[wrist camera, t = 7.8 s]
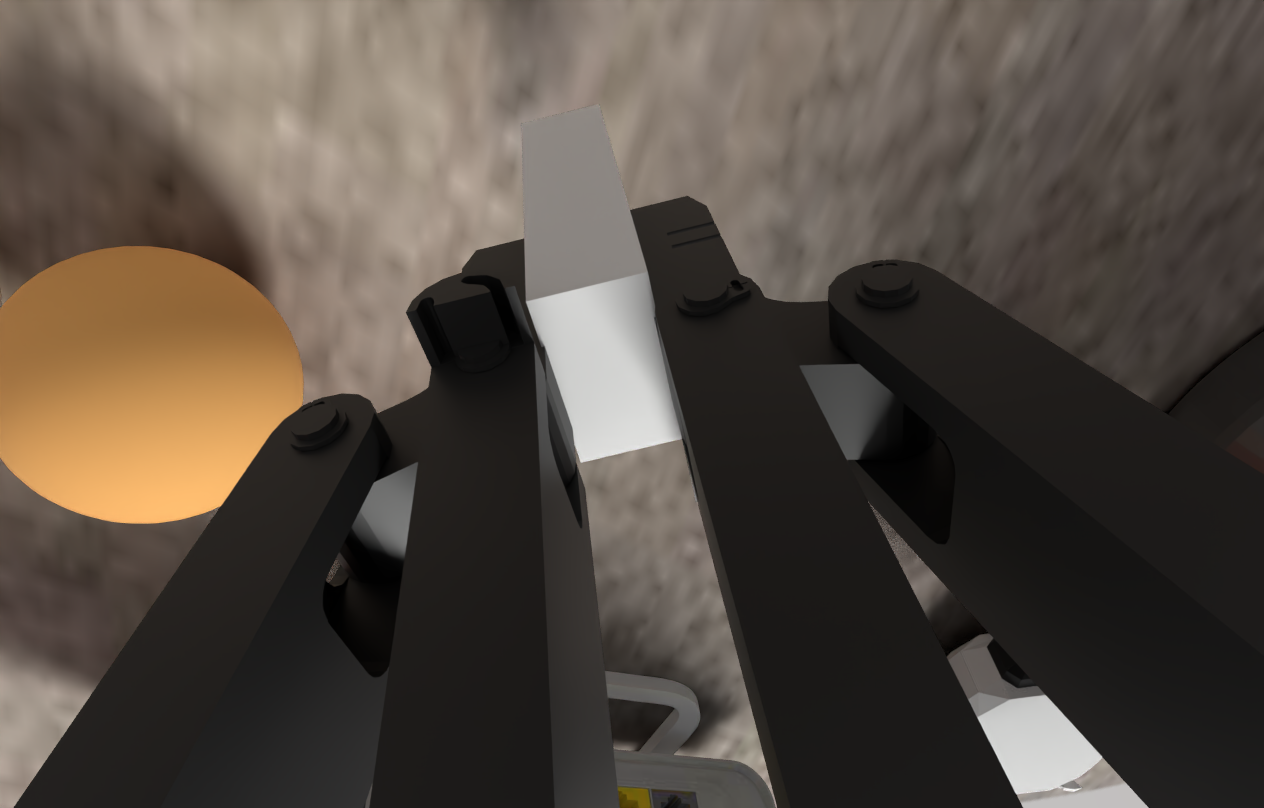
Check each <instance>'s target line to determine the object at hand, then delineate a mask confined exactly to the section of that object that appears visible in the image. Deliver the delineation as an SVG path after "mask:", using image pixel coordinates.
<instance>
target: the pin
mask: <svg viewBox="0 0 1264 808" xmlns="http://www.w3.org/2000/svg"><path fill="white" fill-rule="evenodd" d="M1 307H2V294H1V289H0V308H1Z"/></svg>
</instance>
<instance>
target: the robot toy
mask: <svg viewBox="0 0 1264 808" xmlns="http://www.w3.org/2000/svg"><path fill="white" fill-rule="evenodd" d="M947 659H948V661H949V663H950V665H951V667H952V669H953V670H954V672H955V674H956V676H957V678H958V680H959V682H960V684H961V686H962V688H963V690H964V692H965V694H966V696H967V698H968V700H969V702H970V704H971V706H972V708H973V710H974V712H975V714H976V716H977V718H978V720H979V722H980V724H981V726H982V728H983V730H984V732H985V734H986V736H987V738H988V740H989V742H990V744H991V745H992V747H993V749H994V751H995V753H996V755H997V757H998V759H999V761H1000V763H1001V765H1002V767H1003V769H1004V771H1005V773H1006V775H1007V777H1008V779H1009V781H1010V783H1011V785H1012V787H1013V789H1014V791H1015V793H1016V794H1022V793H1031V792H1039V791H1047V790H1052V789H1054V788H1062V789H1063V790H1065V791H1073V792H1075V791H1077V790H1079V789H1081V788H1083V787H1081V786H1080V785H1079V784H1077V783H1076V782H1074V781H1072V780H1074V779H1076V778H1078V777H1080V776H1081V775H1083V774H1084V773H1085V772H1087V771H1088V770H1089V769H1090V768H1091V767H1093V766H1094V765H1095V764H1096V763H1097V762H1099V761H1100V760H1101V758H1102V756H1101V755H1100V754H1099V753H1098V752H1097V751H1096V750H1095V748H1094V747H1093V746H1092V745H1091V744H1090V743H1089V742H1088V741H1087V740H1086V739H1085V737H1084V736H1083V735H1082V734H1081V733H1080V732H1079V731H1078V730H1077V729H1076V728H1075V727H1074V725H1073V724H1072V723H1071V722H1070V721H1069V720H1068V719H1067V718H1066V717H1065V716H1064V715H1063V713H1062V712H1061V711H1060V710H1059V709H1058V708H1057V707H1056V706H1055V705H1054V704H1053V703H1052V701H1051V700H1050V699H1049V698H1048V697H1047V696H1046V695H1045V694H1044V693H1043V692H1042V690H1041V689H1040V688H1039V687H1038V686H1037V685H1036V684H1035V683H1034V682H1033V681H1032V680H1031V678H1030V677H1029V676H1028V675H1027V674H1026V673H1025V672H1024V671H1023V670H1022V669H1021V668H1020V666H1019V665H1018V664H1017V663H1016V662H1015V661H1014V660H1013V659H1012V658H1011V657H1010V656H1009V654H1008V653H1007V652H1006V651H1005V650H1004V649H1003V648H1002V647H1001V646H1000V645H999V643H998V642H997V641H996V640H995V639H994V638H993V637H992V636H991V635H990V634H989V633H988V634H982V635H979V636H977V637H975V638H974V639H972V640H970V641H969V642H967V643H965V644H964V645H962V646H960V647H959V648H957V649H955V650H954V651H952V652H951V653H950V654H949V655H948V656H947Z"/></svg>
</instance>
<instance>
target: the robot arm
mask: <svg viewBox="0 0 1264 808" xmlns="http://www.w3.org/2000/svg"><path fill="white" fill-rule="evenodd" d="M521 126H522V166H523V206H524V239H521V240H517V241H513V242H509V243H505V244H500V245H496V246H492V247H488V248H484V249H480V250H476V252H475V253H474V254H473V256H472V257H471V258H470V259H469V261H468V262H467V263H466V265H465V266H464V267H463V268H462V273H460V274H457V275H454V276H451V277H448V278H445V279H442V280H441V281H439V282H437V283H435V284H433V285H432V286H430V287H428V288H426V289H425V290H424V291H423V292H421V293H420V294H419V295H418V296H417V297H416V298H415V299H414V300H412V302H411V304H410V306H409V308H408V310H407V312H406V314H407V316H408V318H409V320H410V322H411V324H412V326H413V329H414V331H415V333H416V335H417V337H418V339H419V342H420V344H421V346H422V348H423V350H424V352H425V354H426V357H427V359H428V361H429V363H430V365H431V367H432V368H431V375H430V382H429V387H428V388H427V389H426V390H424V391H423V392H421V393H420V394H418V395H416V396H414V397H412V398H410V399H408V400H406V401H404V402H402V403H400V404H398V405H395V406H393V407H391V408H389V409H386V410H384V411H382V412H380V413H378V414H377V412H376V410H375V409H374V407H373V405H372V403H371V401H370V400H368V399H366V398H364V397H362V396H361V395H358V394H338V395H334V396H329V397H323V398H320V399H317V400H314V401H313V402H312V403H311V402H310V403H308V404H306V405H304V406H302V407H300V408H299V409H298V410H297V411H295V412H294V413H292V414H291V415H290V416H288V417H287V418H285V419H284V420H283V421H282V422H281V423H280V424H279V425H278V426H277V428H276V429H275V430H274V431H273V432H272V433H271V434H270V436H269V437H268V439H267V440H266V441H265V443H264V444H263V446H262V447H261V449H260V450H259V452H258V453H257V455H256V456H255V457H254V459H253V460H252V462H251V463H250V465H249V466H248V468H247V469H246V471H245V472H244V473H243V475H242V476H241V478H240V479H239V481H238V482H237V484H236V485H235V487H234V488H233V489H232V491H231V492H230V494H229V495H228V497H227V498H226V500H225V501H224V503H223V504H222V505H221V507H220V508H219V510H218V511H217V513H216V514H215V516H214V517H213V518H212V520H211V521H210V523H209V524H208V526H207V527H206V529H205V530H204V532H203V533H202V534H201V536H200V537H199V539H198V540H197V542H196V543H195V545H194V546H193V548H192V549H191V550H190V552H189V553H188V555H187V556H186V558H185V559H184V561H183V562H182V564H181V565H180V566H179V568H178V569H177V571H176V572H175V574H174V575H173V577H172V578H171V580H170V581H169V582H168V584H167V585H166V587H165V588H164V590H163V591H162V593H161V594H160V596H159V597H158V598H157V600H156V601H155V603H154V604H153V606H152V607H151V609H150V610H149V612H148V613H147V614H146V616H145V617H144V619H143V620H142V622H141V623H140V625H139V626H138V628H137V629H136V630H135V632H134V633H133V635H132V636H131V638H130V639H129V641H128V642H127V644H126V645H125V646H124V648H123V649H122V651H121V652H120V654H119V655H118V657H117V658H116V660H115V661H114V662H113V664H112V665H111V667H110V668H109V670H108V671H107V673H106V674H105V676H104V677H103V678H102V680H101V681H100V683H99V684H98V686H97V687H96V689H95V690H94V692H93V693H92V694H91V696H90V697H89V699H88V700H87V702H86V703H85V705H84V706H83V708H82V709H81V710H80V712H79V713H78V715H77V716H76V718H75V719H74V721H73V722H72V724H71V725H70V726H69V728H68V729H67V731H66V732H65V734H64V735H63V737H62V738H61V740H60V741H59V742H58V744H57V745H56V747H55V748H54V750H53V751H52V753H51V754H50V755H49V757H48V758H47V760H46V761H45V763H44V764H43V766H42V767H41V769H40V770H39V771H38V773H37V774H36V776H35V777H34V779H33V780H32V782H31V783H30V785H29V786H28V787H27V789H26V790H25V792H24V793H23V795H22V796H21V798H20V799H19V801H18V802H17V803H16V805H15V806H14V808H364V805H365V803H366V800H367V797H368V794H369V791H370V789H371V786H372V791H371V798H370V805H369V808H620V805H619V796H618V786H617V777H616V768H615V759H614V750H613V741H612V731H611V722H610V713H609V704H608V695H607V686H606V676H605V667H604V658H603V649H602V640H601V631H600V621H599V612H598V603H597V594H596V585H595V576H594V566H593V557H592V548H591V539H590V530H589V521H588V511H587V502H586V493H585V487H584V484H583V481H582V478H581V476H580V473H579V470H578V467H577V464H576V457H575V447H576V450H577V453H578V456H579V458H580V461H581V463H582V462H586V461H591V460H595V459H599V458H603V457H607V456H612V455H616V454H620V453H624V452H629V451H633V450H637V449H641V448H646V447H650V446H654V445H658V444H662V443H667V442H671V441H675V440H679V439H682V440H683V445H684V450H685V454H686V459H687V463H688V468H689V473H690V477H691V482H692V486H693V491H694V496H695V500H696V502H698V506H699V509H700V513H701V517H702V521H703V525H704V529H705V532H706V536H707V540H708V544H709V548H710V552H711V555H712V559H713V563H714V567H715V571H716V574H717V578H718V582H719V586H720V590H721V594H722V597H723V601H724V605H725V609H726V613H727V617H728V620H729V624H730V628H731V632H732V636H733V640H734V643H735V647H736V651H737V655H738V659H739V663H740V666H741V670H742V674H743V678H744V682H745V686H746V689H747V693H748V697H749V701H750V705H751V709H752V712H753V716H754V720H755V724H756V728H757V731H758V735H759V739H760V743H761V747H762V751H763V754H764V758H765V762H766V766H767V770H768V774H769V777H770V781H771V785H772V789H773V793H774V797H775V800H776V804H777V808H1023V807H1022V805H1021V803H1020V801H1019V799H1018V797H1017V795H1016V793H1015V791H1014V789H1013V787H1012V785H1011V783H1010V781H1009V779H1008V777H1007V775H1006V773H1005V771H1004V769H1003V767H1002V765H1001V763H1000V761H999V759H998V757H997V755H996V753H995V751H994V749H993V747H992V745H991V744H990V742H989V740H988V738H987V736H986V734H985V732H984V730H983V728H982V726H981V724H980V722H979V720H978V718H977V716H976V714H975V712H974V710H973V708H972V706H971V704H970V702H969V700H968V698H967V696H966V694H965V692H964V690H963V688H962V686H961V684H960V682H959V680H958V678H957V676H956V674H955V672H954V670H953V669H952V667H951V665H950V663H949V661H948V659H947V657H946V655H945V653H944V651H943V649H942V647H941V645H940V643H939V641H938V639H937V637H936V635H935V633H934V631H933V629H932V627H931V625H930V623H929V621H928V619H927V617H926V615H925V613H924V611H923V609H922V607H921V605H920V603H919V601H918V599H917V597H916V595H915V593H914V592H913V590H912V588H911V586H910V584H909V582H908V580H907V578H906V576H905V574H904V572H903V570H902V568H901V566H900V564H899V562H898V560H897V558H896V556H895V554H894V552H893V550H892V548H891V546H890V544H889V542H888V540H887V538H886V536H885V534H884V532H883V530H882V528H881V526H880V524H879V522H878V520H877V518H876V517H875V515H874V513H873V511H872V509H871V507H870V505H869V503H868V501H869V502H870V504H871V505H872V506H873V507H874V508H875V509H876V510H877V511H878V512H879V513H880V515H881V516H882V517H883V518H884V519H885V520H886V521H887V522H888V523H889V524H890V525H891V527H892V528H893V529H894V530H895V531H896V532H897V533H898V534H899V535H900V536H901V537H902V539H903V540H904V541H905V542H906V543H907V544H908V545H909V546H910V547H911V548H912V549H913V551H914V552H915V553H916V554H917V555H918V556H919V557H920V558H921V559H922V560H923V562H924V563H925V564H926V565H927V566H928V567H929V568H930V569H931V570H932V571H933V572H934V574H935V575H936V576H937V577H938V578H939V579H940V580H941V581H942V582H943V583H944V584H945V586H946V587H947V588H948V589H949V590H950V591H951V592H952V593H953V594H954V595H955V596H956V598H957V599H958V600H959V601H960V602H961V603H962V604H963V605H964V606H965V607H966V609H967V610H968V611H969V612H970V613H971V614H972V615H973V616H974V617H975V618H976V619H977V621H978V622H979V623H980V624H981V625H982V626H983V627H984V628H985V629H986V630H987V631H988V633H989V634H990V635H991V636H992V637H993V638H994V639H995V640H996V641H997V642H998V643H999V645H1000V646H1001V647H1002V648H1003V649H1004V650H1005V651H1006V652H1007V653H1008V654H1009V656H1010V657H1011V658H1012V659H1013V660H1014V661H1015V662H1016V663H1017V664H1018V665H1019V666H1020V668H1021V669H1022V670H1023V671H1024V672H1025V673H1026V674H1027V675H1028V676H1029V677H1030V678H1031V680H1032V681H1033V682H1034V683H1035V684H1036V685H1037V686H1038V687H1039V688H1040V689H1041V690H1042V692H1043V693H1044V694H1045V695H1046V696H1047V697H1048V698H1049V699H1050V700H1051V701H1052V703H1053V704H1054V705H1055V706H1056V707H1057V708H1058V709H1059V710H1060V711H1061V712H1062V713H1063V715H1064V716H1065V717H1066V718H1067V719H1068V720H1069V721H1070V722H1071V723H1072V724H1073V725H1074V727H1075V728H1076V729H1077V730H1078V731H1079V732H1080V733H1081V734H1082V735H1083V736H1084V737H1085V739H1086V740H1087V741H1088V742H1089V743H1090V744H1091V745H1092V746H1093V747H1094V748H1095V750H1096V751H1097V752H1098V753H1099V754H1100V755H1101V756H1102V757H1103V758H1104V759H1105V760H1106V762H1107V763H1108V764H1109V765H1110V766H1111V767H1112V768H1113V769H1114V770H1115V771H1116V772H1117V774H1118V775H1119V776H1120V777H1121V778H1122V779H1123V780H1124V781H1125V782H1126V783H1127V784H1128V786H1130V788H1131V789H1132V790H1133V791H1134V792H1135V793H1136V794H1137V795H1138V797H1139V798H1140V799H1141V800H1142V801H1143V802H1144V803H1145V804H1146V805H1147V806H1148V807H1149V808H1264V332H1262V333H1261V334H1259V335H1258V336H1256V337H1255V338H1253V339H1252V340H1251V341H1249V342H1248V343H1246V344H1245V345H1244V346H1242V347H1241V348H1240V349H1238V350H1237V351H1236V352H1234V353H1233V354H1232V355H1230V356H1229V357H1228V358H1227V359H1225V360H1224V361H1223V362H1222V363H1221V364H1219V365H1218V366H1217V367H1216V368H1215V369H1213V370H1212V371H1211V372H1210V373H1209V374H1208V375H1207V376H1205V377H1204V378H1203V379H1202V380H1201V381H1200V382H1199V383H1198V384H1197V385H1196V386H1195V387H1194V388H1193V389H1192V390H1190V391H1189V392H1188V393H1187V394H1186V395H1185V396H1184V397H1183V399H1182V400H1181V401H1180V402H1179V403H1178V404H1177V405H1176V406H1175V407H1174V408H1173V409H1172V410H1171V412H1170V413H1169V414H1168V415H1167V414H1166V413H1164V412H1163V411H1161V410H1159V409H1158V408H1156V407H1155V406H1153V405H1151V404H1150V403H1148V402H1147V401H1145V400H1143V399H1142V398H1140V397H1139V396H1137V395H1135V394H1134V393H1132V392H1131V391H1129V390H1127V389H1126V388H1124V387H1122V386H1121V385H1119V384H1118V383H1116V382H1114V381H1113V380H1111V379H1110V378H1108V377H1106V376H1105V375H1103V374H1102V373H1100V372H1098V371H1097V370H1095V369H1094V368H1092V367H1090V366H1089V365H1087V364H1086V363H1084V362H1082V361H1081V360H1079V359H1077V358H1076V357H1074V356H1073V355H1071V354H1069V353H1068V352H1066V351H1065V350H1063V349H1061V348H1060V347H1058V346H1057V345H1055V344H1053V343H1052V342H1050V341H1049V340H1047V339H1045V338H1044V337H1042V336H1041V335H1039V334H1037V333H1036V332H1034V331H1033V330H1031V329H1029V328H1028V327H1026V326H1024V325H1023V324H1021V323H1020V322H1018V321H1016V320H1015V319H1013V318H1012V317H1010V316H1008V315H1007V314H1005V313H1004V312H1002V311H1000V310H999V309H997V308H996V307H994V306H992V305H991V304H989V303H988V302H986V301H984V300H983V299H981V298H979V297H978V296H976V295H975V294H973V293H971V292H970V291H968V290H967V289H965V288H963V287H962V286H960V285H959V284H957V283H955V282H954V281H952V280H951V279H949V278H947V277H946V276H944V275H943V274H941V273H939V272H938V271H936V270H934V269H931V268H929V267H926V266H924V265H922V264H919V263H914V262H907V261H900V260H886V261H883V260H880V261H873V262H870V263H866V264H863V265H859V266H855V267H853V268H851V269H849V270H847V271H845V272H844V273H842V274H840V275H838V276H837V277H836V279H835V280H834V281H833V282H832V284H831V285H830V286H829V292H828V301H820V302H783V301H777V300H771V299H768V298H765V297H764V295H763V293H762V292H761V290H760V288H759V287H758V286H757V285H756V284H755V282H754V281H753V280H752V279H751V278H748V277H745V276H742V275H740V274H739V272H738V270H737V268H736V266H735V264H734V262H733V259H732V257H731V255H730V253H729V251H728V249H727V247H726V245H725V243H724V241H723V239H722V237H721V236H720V233H719V231H718V229H717V226H716V224H714V220H713V218H712V216H711V214H710V212H709V210H708V208H707V206H706V205H704V204H702V203H700V202H698V201H696V200H694V199H692V198H690V197H689V196H685V197H681V198H677V199H673V200H669V201H665V202H661V203H657V204H653V205H649V206H645V207H641V208H637V209H633V210H630V209H629V205H628V202H627V198H626V195H625V192H624V188H623V185H622V181H621V178H620V174H619V171H618V167H617V164H616V160H615V157H614V154H613V150H612V147H611V143H610V140H609V136H608V133H607V129H606V126H605V122H604V119H603V115H602V112H601V109H600V105H599V104H596V105H592V106H588V107H584V108H580V109H576V110H572V111H568V112H564V113H561V114H557V115H553V116H549V117H545V118H541V119H537V120H533V121H529V122H525V123H521ZM574 444H575V447H574ZM867 500H868V501H867ZM335 559H337V560H338V562H339V563H340V566H339V568H338V570H337V572H336V574H335V576H334V577H333V579H332V580H331V581H330V582H329V583H328V582H327V581H326V579H327V575H328V573H329V571H330V569H331V567H332V565H333V563H334V561H335ZM372 783H373V784H372Z"/></svg>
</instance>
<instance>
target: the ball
mask: <svg viewBox="0 0 1264 808" xmlns="http://www.w3.org/2000/svg"><path fill="white" fill-rule="evenodd" d="M303 385H304V381H303V371H302V364H301V360H300V356H299V352H298V349H297V346H296V344H295V342H294V339H293V337H292V334H291V332H290V330H289V328H288V327H287V325H286V323H285V322H284V320H283V318H282V317H281V315H280V314H279V313H278V311H277V310H276V309H275V308H274V306H273V305H272V304H271V303H270V301H269V300H268V299H267V298H266V297H265V296H263V295H262V294H261V293H260V292H259V291H258V290H257V289H256V288H255V287H254V286H253V285H251V284H250V283H249V282H247V281H246V280H244V279H243V278H242V277H240V276H239V275H237V274H236V273H234V272H233V271H231V270H229V269H227V268H226V267H224V266H222V265H220V264H217V263H215V262H213V261H210V260H208V259H205V258H203V257H200V256H197V255H194V254H191V253H186V252H182V251H178V250H174V249H169V248H160V247H152V246H121V247H113V248H105V249H99V250H95V251H91V252H87V253H83V254H80V255H77V256H74V257H72V258H69V259H67V260H64V261H61V262H59V263H56V264H55V265H53V266H51V267H49V268H47V269H45V270H44V271H42V272H40V273H38V274H37V275H35V276H34V277H33V278H31V279H30V280H29V281H27V282H26V283H25V284H23V285H22V286H21V287H20V288H19V289H18V290H17V291H16V292H15V293H14V294H13V295H12V296H11V297H10V298H9V299H8V300H7V301H6V302H5V303H4V304H3V305H2V307H1V308H0V458H1V459H2V461H3V462H4V463H5V465H6V466H7V467H8V468H9V470H10V471H11V472H12V473H13V474H14V475H15V476H17V477H18V478H19V479H20V480H21V481H22V482H24V483H25V484H26V485H27V486H28V487H30V488H31V489H32V490H33V491H35V492H36V493H38V494H39V495H41V496H43V497H44V498H46V499H48V500H50V501H52V502H54V503H56V504H58V505H60V506H62V507H64V508H67V509H69V510H71V511H74V512H77V513H79V514H83V515H86V516H89V517H93V518H97V519H101V520H106V521H112V522H119V523H162V522H169V521H175V520H181V519H185V518H189V517H193V516H196V515H199V514H203V513H206V512H208V511H210V510H213V509H215V508H217V507H219V506H221V505H222V504H223V503H224V501H225V500H226V498H227V497H228V495H229V494H230V492H231V491H232V489H233V488H234V487H235V485H236V484H237V482H238V481H239V479H240V478H241V476H242V475H243V473H244V472H245V471H246V469H247V468H248V466H249V465H250V463H251V462H252V460H253V459H254V457H255V456H256V455H257V453H258V452H259V450H260V449H261V447H262V446H263V444H264V443H265V441H266V440H267V439H268V437H269V436H270V434H271V433H272V432H273V431H274V430H275V429H276V428H277V426H278V425H279V424H280V423H281V422H282V421H283V420H284V419H285V418H287V417H288V416H290V415H291V414H292V413H294V412H295V411H297V410H298V409H299V408H300V407H302V403H303Z"/></svg>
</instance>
